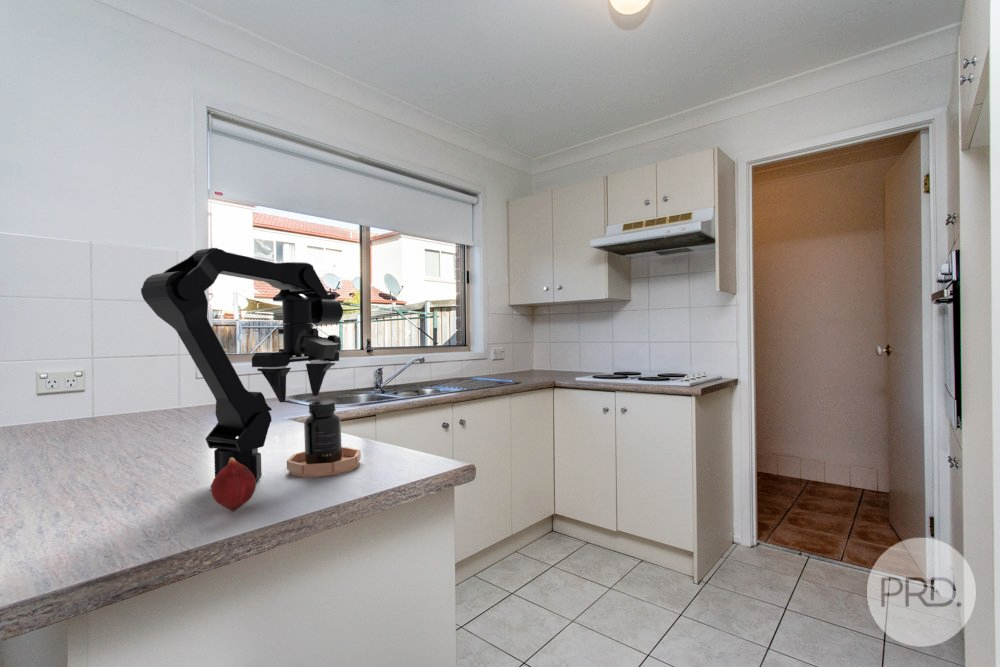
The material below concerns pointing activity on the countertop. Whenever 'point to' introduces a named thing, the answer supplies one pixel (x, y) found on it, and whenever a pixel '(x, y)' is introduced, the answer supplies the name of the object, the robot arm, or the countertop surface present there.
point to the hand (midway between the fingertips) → (299, 398)
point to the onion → (233, 485)
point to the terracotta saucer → (324, 465)
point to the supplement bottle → (322, 434)
